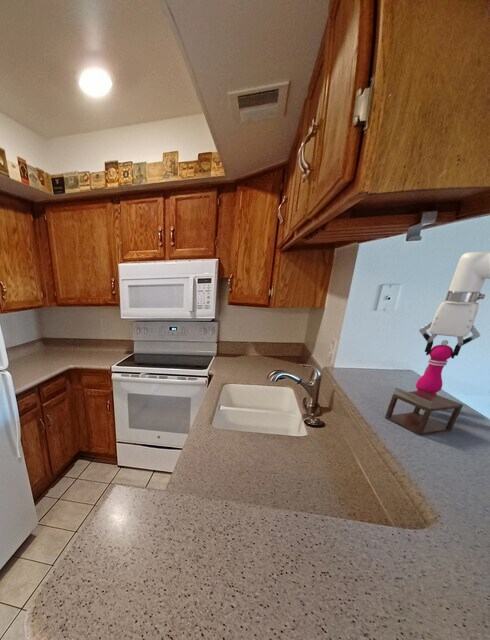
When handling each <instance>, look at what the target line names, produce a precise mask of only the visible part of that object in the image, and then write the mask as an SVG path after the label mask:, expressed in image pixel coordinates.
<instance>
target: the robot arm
mask: <svg viewBox="0 0 490 640" xmlns="http://www.w3.org/2000/svg"><path fill="white" fill-rule="evenodd" d="M486 279H488V280H490V251H471V252H465V253H463V254H462V255H461V256H460V258H459V260H458V263H457V265H456V269H455V271H454V274H453V277H452V280H451V282H450V283H451V284H450V285H449V288H448V291H447V294H446V297H445V300H444V301H443V300H442V301H441V303H440V304H439V306H438V308H437V310H436V312H435V314H434V317H433V320H432V321H431V322H429V323H428V324H426V325H424V326H423V327H421V328H420V329H419V330H418V331H419V333H420V334H421V336H422V337H423V339H425V341H426V346H425V349H424V353H425V356H428V355H429V353H430V350H431V349H432V348H433V346H434V340H435V338H436V337H437V336H444V337H454V338H455V337H456V339H457V343H456V345H455V346H454V349H453V354H452V356H451V357H450V359H454V358H455V356H456V357H458V356H459V353H460V350H461V348H462V347H463V346H464V345H466V344H468V343H470V342H472V341H475V339H477V338H479V337H481V333H480V332H479V331H478V329H477V328H476V327H475V325H474V323H475V320H476V317H477V314H478V311H479V305H480V304H479V302H477V301H479V300H484V299H485V297H486V294H483V293H481V291H482V289H483V286H484V284H485V281H486ZM427 330H429V333H430V334H431V335H430V334H429V333H428V332H427ZM470 333H471V334H472V335H470V336H469V334H470ZM468 336H469V337H468ZM465 337H466V338H465ZM429 356H430V355H429Z"/></svg>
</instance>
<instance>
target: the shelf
mask: <svg viewBox="0 0 490 640" xmlns="http://www.w3.org/2000/svg"><path fill="white" fill-rule="evenodd" d="M436 394H437V393H436ZM436 394H433V393H431V392H428V391H425V390H422V391H416V390H413V391H407V390H404V389H401V388H399V387H395V388H394V390H393V393H392V396H391V399H390V402H389V404H388V407H387V411H386V413H385V417H384V419H386V420H388V421H390V422H392V423H394V424H395V425H397V426H399V427H402V428H404V430H407V431H410V432H411V433H413V434H415V435H417V436H424V435H431V434H436V433H437V434H438V433H444V432H450V431H452V430H453V428H454V426H455V424H456V422H457V420H458V417H459V415H460V413H461V411H462V409H463V407H464V404H462V403H461V402H457V401H454V400H453V399H449V398H446V397H444V396H441V395H438V394H437V395H436ZM398 400H399V401H402V402H404V403H407V404H409V405H411V406H413V407H414V408H413V412H406V413H397V414H393V413H394V410H395V409H396V408H395V407H396V405H397V402H398ZM421 410H423V411H424V412H423V414H421V413H420V411H421ZM448 410H452V413H451V415H450V417H449V419H448V422H447V424H446V425H445V424H443V423H442V422H439V421H437V420H435V419H432V418H431V414H432V413H433V412H439V411H440V412H441V411H448Z"/></svg>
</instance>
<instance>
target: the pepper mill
mask: <svg viewBox="0 0 490 640" xmlns="http://www.w3.org/2000/svg"><path fill="white" fill-rule="evenodd" d="M453 351H454V349H453V348H452V347H451V346H450V345H449V341H448V340H446V339H444V340H442V341H441V343H440V344H437V345H433V346H432V348H431V350H430V353H429V357H430V358H429V359H428V362H427V364H428V365H429V366H428V365H427V366H428V369H427V371H426V372H425V371H424V372H425V374H424V373H423V375H421V377H420V378H418V380H417V381H416V383H415V388H416V390H415V391H422V390H425V391H428V392H431V393H433V394H436V395H438V394H437V393H438V392H440V391H442V389H443V378H442V377H443V376H442V372H443V369H444V367H445V366H447V365H448V364H447V363H448V360H449V359H451V356H452V354H453Z"/></svg>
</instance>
